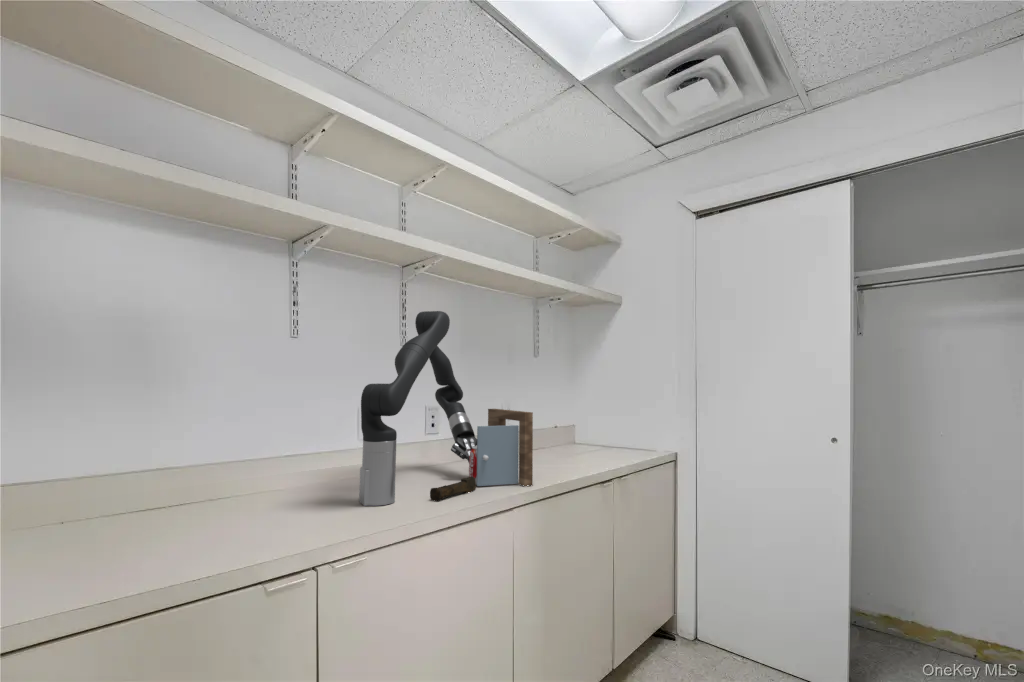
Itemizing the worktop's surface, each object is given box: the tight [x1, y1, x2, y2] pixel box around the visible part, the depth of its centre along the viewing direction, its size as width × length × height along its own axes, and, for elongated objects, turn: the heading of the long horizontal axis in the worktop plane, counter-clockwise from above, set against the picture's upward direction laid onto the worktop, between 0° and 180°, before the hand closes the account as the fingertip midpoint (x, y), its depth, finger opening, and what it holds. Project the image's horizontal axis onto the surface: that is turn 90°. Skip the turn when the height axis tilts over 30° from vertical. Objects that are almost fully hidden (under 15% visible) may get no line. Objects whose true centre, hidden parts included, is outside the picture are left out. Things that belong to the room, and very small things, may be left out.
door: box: [476, 424, 519, 487], centre depth 163 cm, size 14×3×19 cm, turn 109°
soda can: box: [468, 445, 477, 486], centre depth 166 cm, size 7×7×12 cm
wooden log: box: [429, 476, 477, 502], centre depth 149 cm, size 19×4×5 cm, turn 143°
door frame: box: [487, 408, 534, 487], centre depth 175 cm, size 3×27×24 cm, turn 29°
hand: (475, 467), depth 170 cm, fingers closed
